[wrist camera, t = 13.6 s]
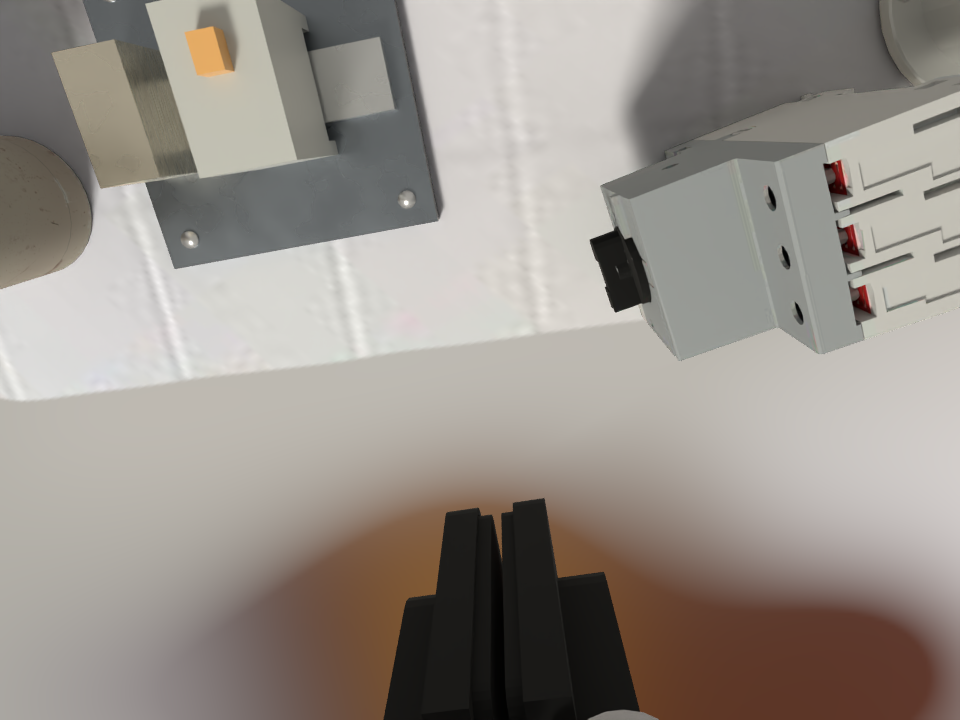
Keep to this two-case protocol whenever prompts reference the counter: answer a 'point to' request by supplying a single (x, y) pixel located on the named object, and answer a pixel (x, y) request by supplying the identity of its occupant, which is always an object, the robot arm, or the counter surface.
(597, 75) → the counter surface
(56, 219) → the thermos bottle
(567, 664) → the robot arm
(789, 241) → the circuit breaker
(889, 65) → the counter surface
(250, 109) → the block
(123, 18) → the mounting plate
